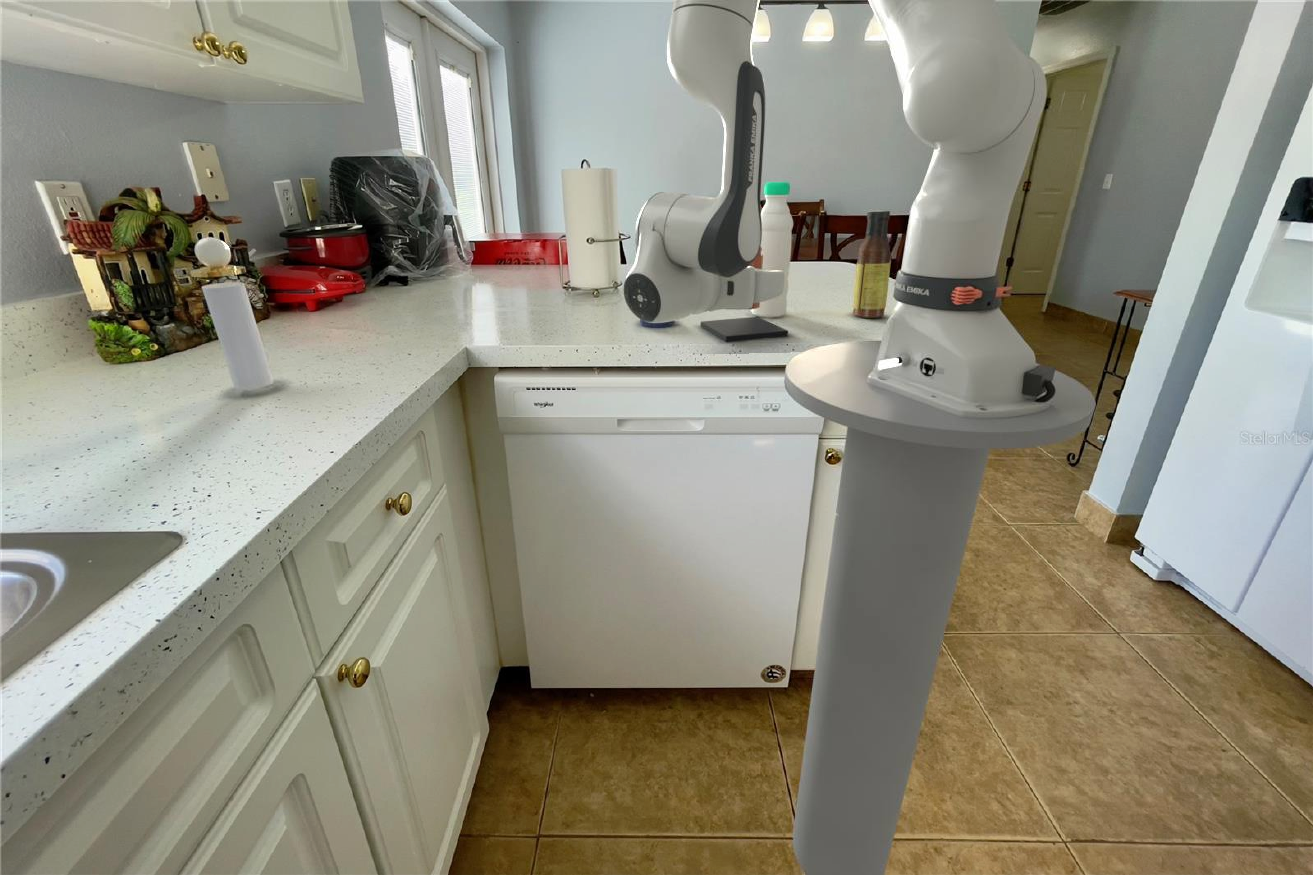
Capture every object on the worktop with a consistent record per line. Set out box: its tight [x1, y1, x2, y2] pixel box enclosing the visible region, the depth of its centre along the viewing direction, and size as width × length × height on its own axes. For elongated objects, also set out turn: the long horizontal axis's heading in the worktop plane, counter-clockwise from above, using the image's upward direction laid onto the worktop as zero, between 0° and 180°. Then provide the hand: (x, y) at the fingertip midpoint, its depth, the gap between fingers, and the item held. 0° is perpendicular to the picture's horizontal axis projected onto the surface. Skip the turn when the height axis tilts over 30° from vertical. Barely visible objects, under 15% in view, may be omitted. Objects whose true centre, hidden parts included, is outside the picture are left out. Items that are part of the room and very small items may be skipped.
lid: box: [639, 318, 676, 329], centre depth 113 cm, size 6×6×2 cm
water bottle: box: [750, 181, 794, 318], centre depth 115 cm, size 7×7×25 cm
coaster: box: [700, 316, 789, 343], centre depth 107 cm, size 12×12×1 cm
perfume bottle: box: [189, 236, 274, 391], centre depth 76 cm, size 6×6×20 cm
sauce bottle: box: [852, 209, 892, 319], centre depth 114 cm, size 7×6×20 cm
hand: (747, 273), depth 104 cm, fingers closed on jar, 6 cm apart
